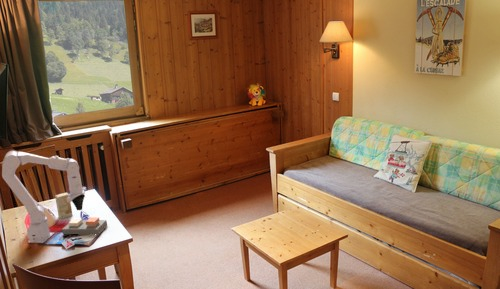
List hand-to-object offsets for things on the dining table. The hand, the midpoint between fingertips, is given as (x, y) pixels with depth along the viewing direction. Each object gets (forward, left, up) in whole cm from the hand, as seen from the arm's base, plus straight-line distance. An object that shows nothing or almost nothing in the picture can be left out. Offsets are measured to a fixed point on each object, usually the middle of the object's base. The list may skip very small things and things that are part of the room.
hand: (79, 209), depth 211 cm
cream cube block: (-2, +2, -9) cm, 10 cm away
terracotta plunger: (-2, -7, -9) cm, 12 cm away
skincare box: (+14, +17, -10) cm, 24 cm away
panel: (-2, -3, -10) cm, 10 cm away
